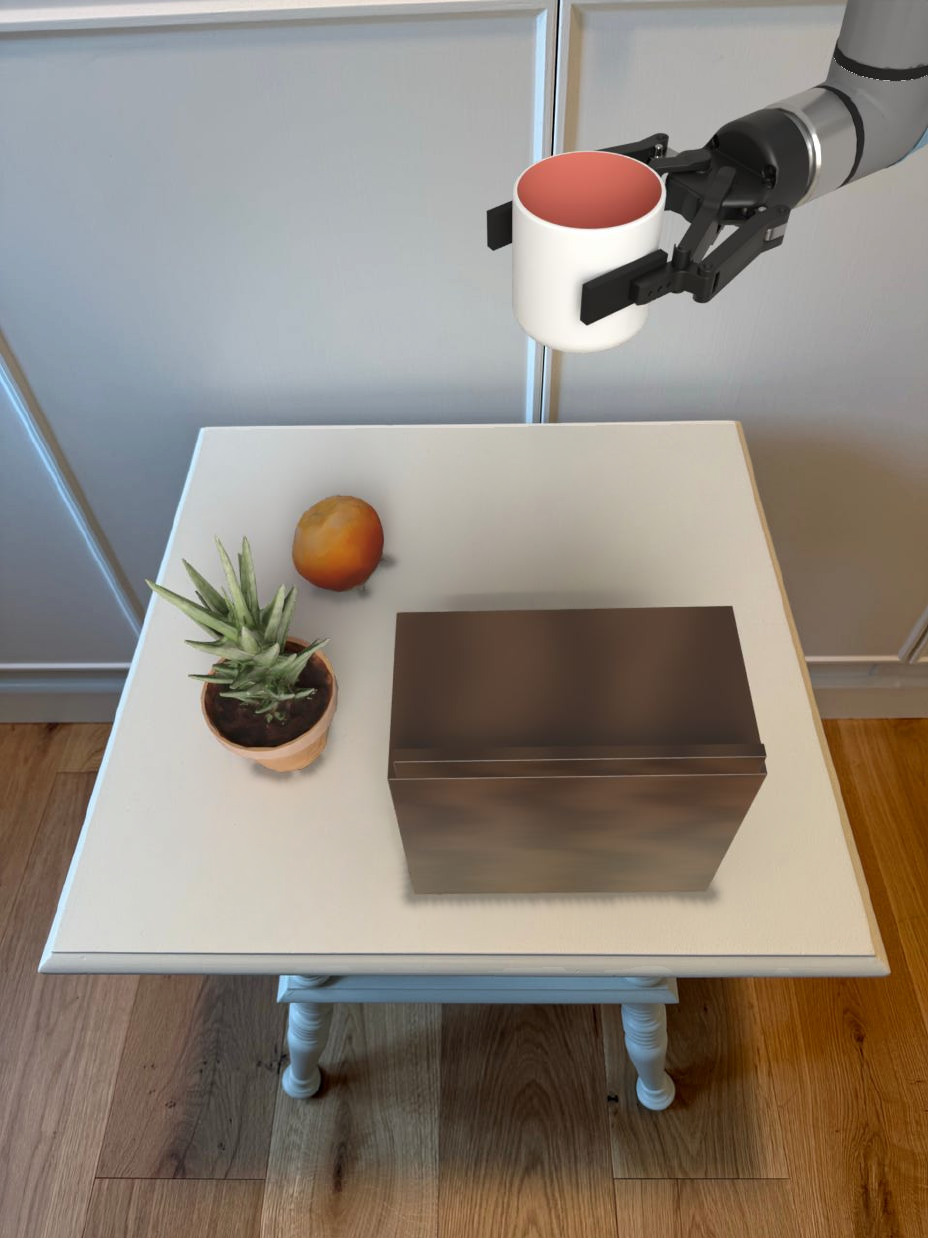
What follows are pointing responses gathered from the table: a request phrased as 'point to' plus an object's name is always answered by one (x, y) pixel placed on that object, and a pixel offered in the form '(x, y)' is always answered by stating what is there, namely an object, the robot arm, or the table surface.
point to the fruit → (338, 543)
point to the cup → (580, 243)
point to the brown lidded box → (570, 748)
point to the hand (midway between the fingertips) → (535, 266)
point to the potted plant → (259, 670)
